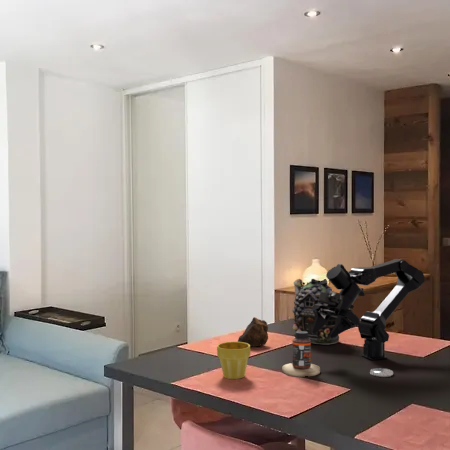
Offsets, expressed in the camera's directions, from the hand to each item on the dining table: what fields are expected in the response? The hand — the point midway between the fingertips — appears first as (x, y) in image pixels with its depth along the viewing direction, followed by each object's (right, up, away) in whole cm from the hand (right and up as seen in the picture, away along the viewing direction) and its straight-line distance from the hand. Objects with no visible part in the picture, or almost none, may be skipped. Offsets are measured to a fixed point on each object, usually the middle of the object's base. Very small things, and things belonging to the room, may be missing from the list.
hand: (321, 335), depth 190 cm
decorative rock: (-21, -10, +31) cm, 39 cm away
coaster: (-7, -11, -4) cm, 14 cm away
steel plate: (+18, -11, -8) cm, 22 cm away
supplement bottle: (-7, -10, -4) cm, 13 cm away
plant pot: (-29, -11, -9) cm, 32 cm away
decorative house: (+4, -10, +38) cm, 40 cm away
